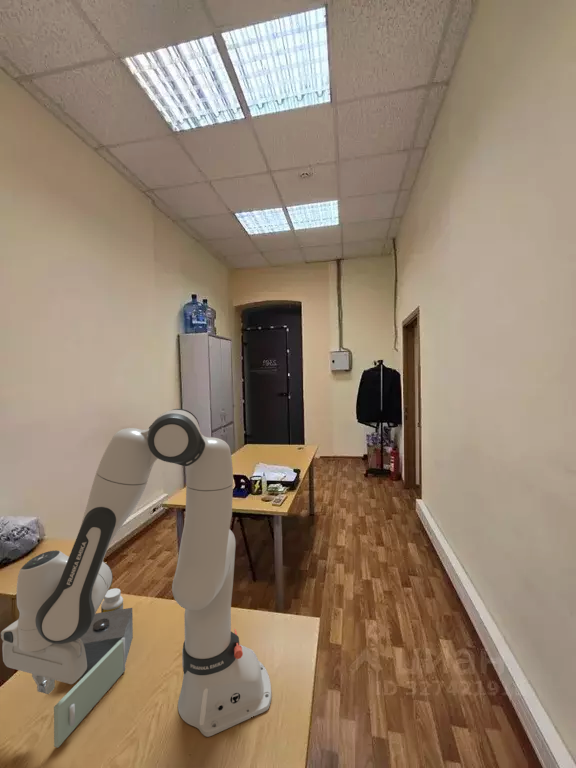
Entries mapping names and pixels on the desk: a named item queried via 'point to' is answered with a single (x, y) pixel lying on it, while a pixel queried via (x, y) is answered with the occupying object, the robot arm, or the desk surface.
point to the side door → (88, 692)
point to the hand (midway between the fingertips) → (46, 690)
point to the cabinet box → (107, 635)
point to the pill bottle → (112, 601)
